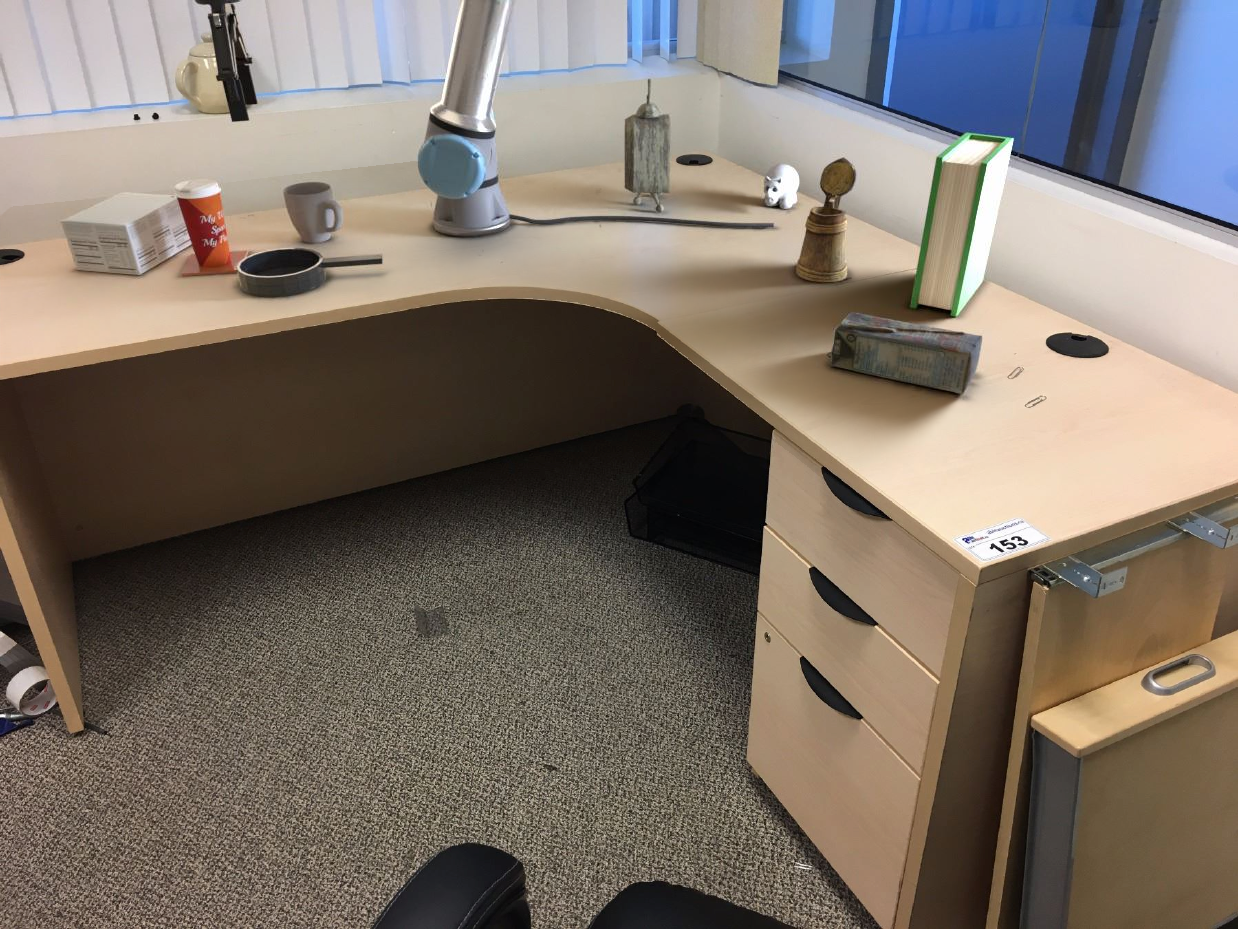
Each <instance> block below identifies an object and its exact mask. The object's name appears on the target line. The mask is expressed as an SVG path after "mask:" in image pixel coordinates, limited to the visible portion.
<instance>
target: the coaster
mask: <svg viewBox="0 0 1238 929" xmlns="http://www.w3.org/2000/svg"><path fill="white" fill-rule="evenodd" d="M248 256H249V250H237V251H235V250H234V251H230V257H231V261H230V262H229V263H228V264H225V265H222V266H218V267H202V266H200V265H199V264H198V261H197V258H196V256H195V253H194V254H193V253H192V254H190V256H189V258H188V260H187V262H186V264H185V265H184V267H183V269H182V271H181V273H180V276H181V277H192V276H194V277H195V276H206V275H221V274H222V275H223V274H235V273H237V270H236V266H237V264H238V262H240V261H241V260H242V259H244V258H246V257H248Z"/></svg>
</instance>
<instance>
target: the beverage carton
mask: <svg viewBox="0 0 1238 929" xmlns="http://www.w3.org/2000/svg"><path fill="white" fill-rule="evenodd" d="M982 343H983V335H981V334H980V335H978V334H973V333H969V332H964V331H956V330H952V329H944V328H939V327H934V326H929V325H923V324H918V323H917V324H916V323H911V322H907V321H906V322H905V321H900V320H896V319H891V318H886V317H885V318H884V317H879V316H874V315H869V314H864V313H861V312H860V313H859V312H855V311H851V312H850V313H848V315H847V316H846V317H845V318H844V319H843V320H842V321H841V322H840V323H839V324H838V325H837V327H835V329H834V331H833V342H832V347H831V353H830V366H831V367H836V368H841V369H845V370H850V371H854V372H858V373H861V374H866V375H869V376H870V375H871V376H876V377H880V378H884V379H889V380H895V381H899V382H905V383H910V384H914V385H920V386H924V387H928V388H933V389H939V390H942V391H947V392H952V393H955V394H959V395H963V394H964V393H965V391H966V390H967V388H968V386H969V384H970V383H971V381H972V380H973V378H974V376H975V375H976V372H977V368H978V365H979V362H980V355H981V351H982Z"/></svg>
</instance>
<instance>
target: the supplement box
mask: <svg viewBox="0 0 1238 929" xmlns="http://www.w3.org/2000/svg"><path fill="white" fill-rule="evenodd" d="M60 224H61V227H62V230H63V232H64V235H65V238H66V241H67V245H68V248H69V250H70V253H71V256H72V259H73V262H74V264H75V268H76V270H77V271H85V272H86V271H87V272H98V273H108V274H110V273H111V274H120V275H121V274H123V275H133V276H141V275H143V274H144V273H146V272H148V271H149V270H151V269H152V268H154V267H156V266H157V265H159V264H161V263H163V262H165V261H166V260H168V259H169V258H171V257H173V256H174V255H176V254H178V253H179V252H181V251H183V250H184V249H186V248H188V247H189V246H192V243H191V240H190V237H189V234H188V231H187V228H186V225H185V222H184V218H183V215H182V212H181V209H180V206H179V203H178V200H177V197H175V196H174V194H159V193H158V194H156V193H141V192H140V193H139V192H127V191H124V192H122V191H121V192H119V193H116V194H115V195H112V196H110V197H108V198H106V199H104V200H102V201H100V202H98V203H95V204H94V205H91V206H90V207H87V208H85V209H83V210H81V211H79V212H77V213H74V214H72V215H70V216H68V217H66V218H63V219H61V220H60Z"/></svg>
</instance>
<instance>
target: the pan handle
mask: <svg viewBox="0 0 1238 929" xmlns="http://www.w3.org/2000/svg"><path fill="white" fill-rule="evenodd" d="M383 260H384V258H383V254H382V253H378V254H363V255H350V256H349V255H348V256H334V257H323V268H325V269H330V268H344V267H345V268H346V267H359V266H361V267H362V266H373V265H375V266H376V265H383V262H384V261H383Z"/></svg>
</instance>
